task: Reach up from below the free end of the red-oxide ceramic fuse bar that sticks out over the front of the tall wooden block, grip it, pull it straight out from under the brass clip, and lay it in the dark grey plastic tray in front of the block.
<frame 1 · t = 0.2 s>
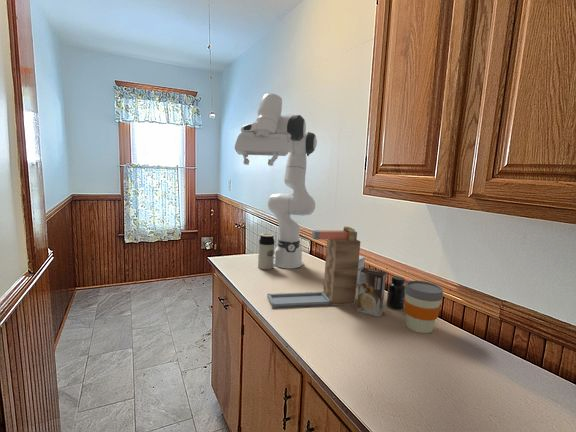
hand: (257, 164, 118), 54 cm above the worktop, tool tilted 30°, fingers open, 8 cm apart
fuse bar: (334, 238, 131), point 26 cm above the worktop, touching tall wooden block
tray: (298, 301, 132), on the worktop
supplement box: (352, 281, 159), on the worktop
supplement bottle: (394, 306, 133), on the worktop
reusable coffee cup: (418, 327, 116), on the worktop
travel mug: (265, 267, 173), on the worktop
tall wooden block: (338, 299, 136), on the worktop
coffee box: (369, 311, 127), on the worktop
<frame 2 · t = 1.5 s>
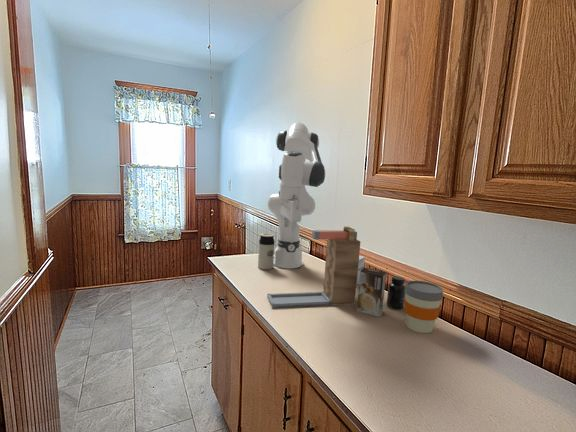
hand: (289, 229, 128), 29 cm above the worktop, tool pointing down, fingers open, 8 cm apart
nothing on the worktop moved.
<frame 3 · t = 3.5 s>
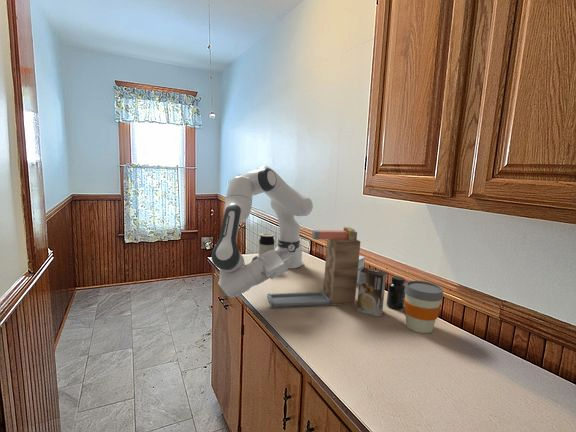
hand: (291, 253, 128), 20 cm above the worktop, tool pointing upward, fingers open, 8 cm apart
nothing on the worktop moved.
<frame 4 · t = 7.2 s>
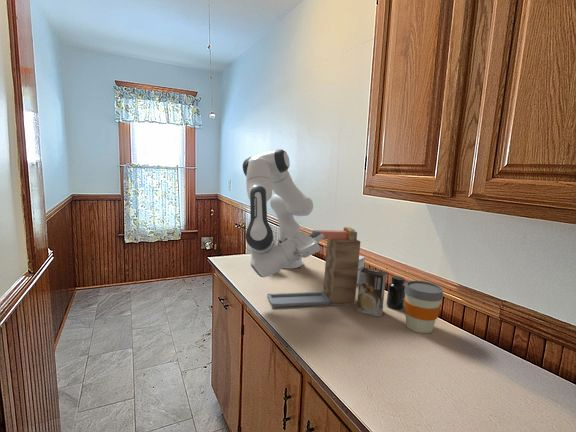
hand: (321, 233, 130), 28 cm above the worktop, tool pointing upward, fingers closed on fuse bar, 3 cm apart
fuse bar: (334, 238, 131), point 26 cm above the worktop, touching gripper, tall wooden block
everything else where it was.
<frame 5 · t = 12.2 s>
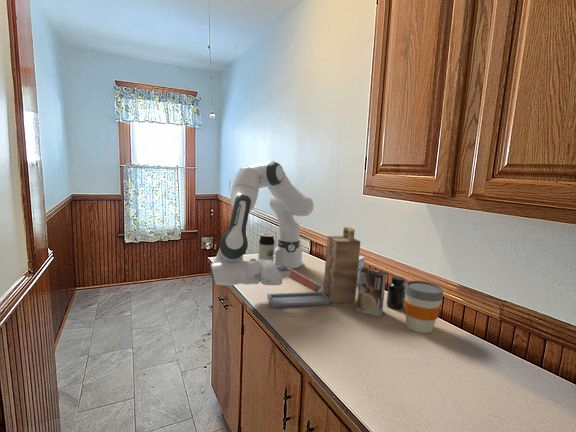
hand: (288, 271, 129), 13 cm above the worktop, tool horizontal, fingers closed on fuse bar, 3 cm apart
fuse bar: (298, 281, 130), point 8 cm above the worktop, tilted 29°, touching gripper
everything else where it was.
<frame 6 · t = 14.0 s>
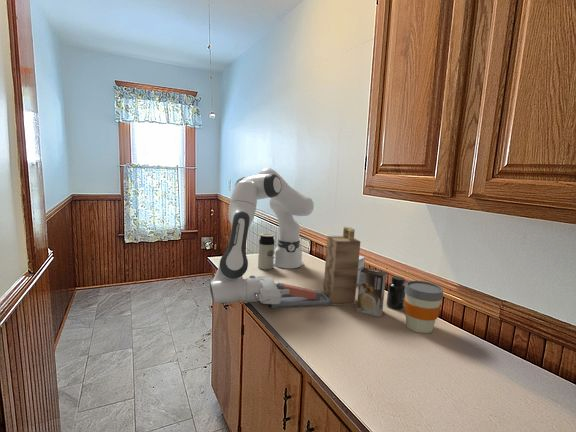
hand: (287, 288, 130), 5 cm above the worktop, tool horizontal, fingers closed on fuse bar, 3 cm apart
fuse bar: (297, 295, 131), point 3 cm above the worktop, tilted 13°, touching gripper
everything else where it was.
when the fingers open (5 cm above the worktop, at t = 14.3 s): fuse bar drops 2 cm, resting on tray.
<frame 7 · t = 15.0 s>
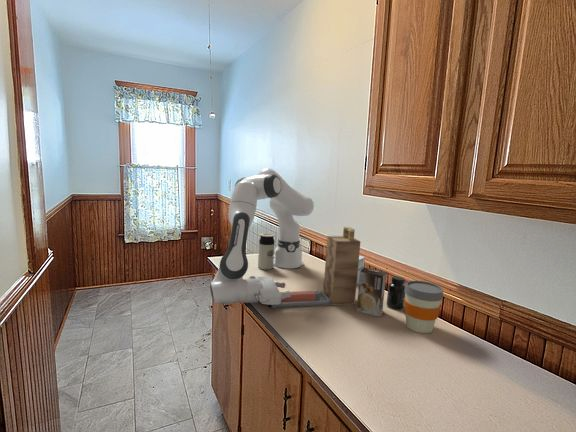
hand: (287, 289, 130), 5 cm above the worktop, tool horizontal, fingers open, 8 cm apart
fuse bar: (297, 300, 132), point 1 cm above the worktop, touching tray
everything else where it was.
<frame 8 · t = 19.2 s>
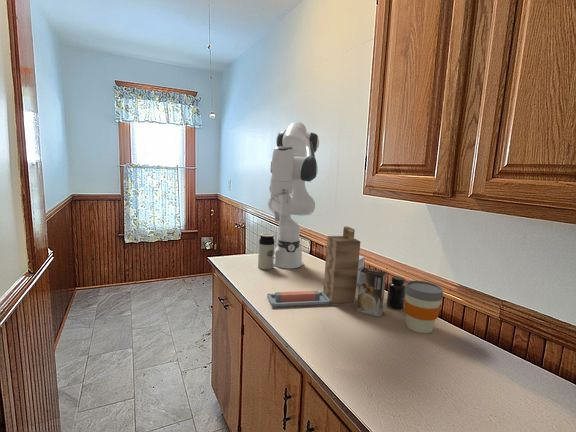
hand: (279, 223, 129), 31 cm above the worktop, tool pointing down, fingers open, 8 cm apart
nothing on the worktop moved.
at the end: fuse bar inside the target area (0.7 cm from its centre), point 0.6 cm above the worktop; the gripper is holding nothing; fuse bar touching tray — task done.
